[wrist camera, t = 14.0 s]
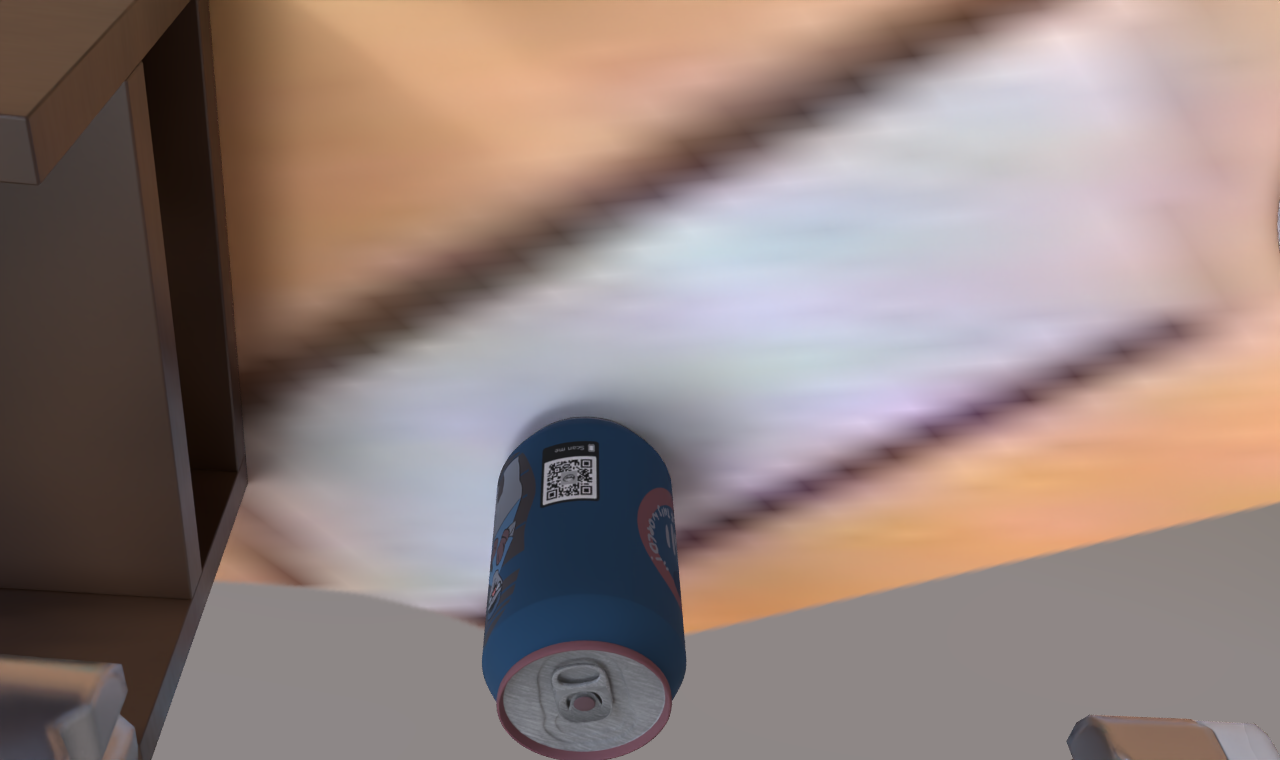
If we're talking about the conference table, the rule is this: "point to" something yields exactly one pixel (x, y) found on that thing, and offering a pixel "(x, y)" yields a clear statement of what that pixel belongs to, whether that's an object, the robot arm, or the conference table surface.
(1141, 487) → the conference table surface
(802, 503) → the conference table surface
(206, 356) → the shelf
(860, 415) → the conference table surface
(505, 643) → the soda can
